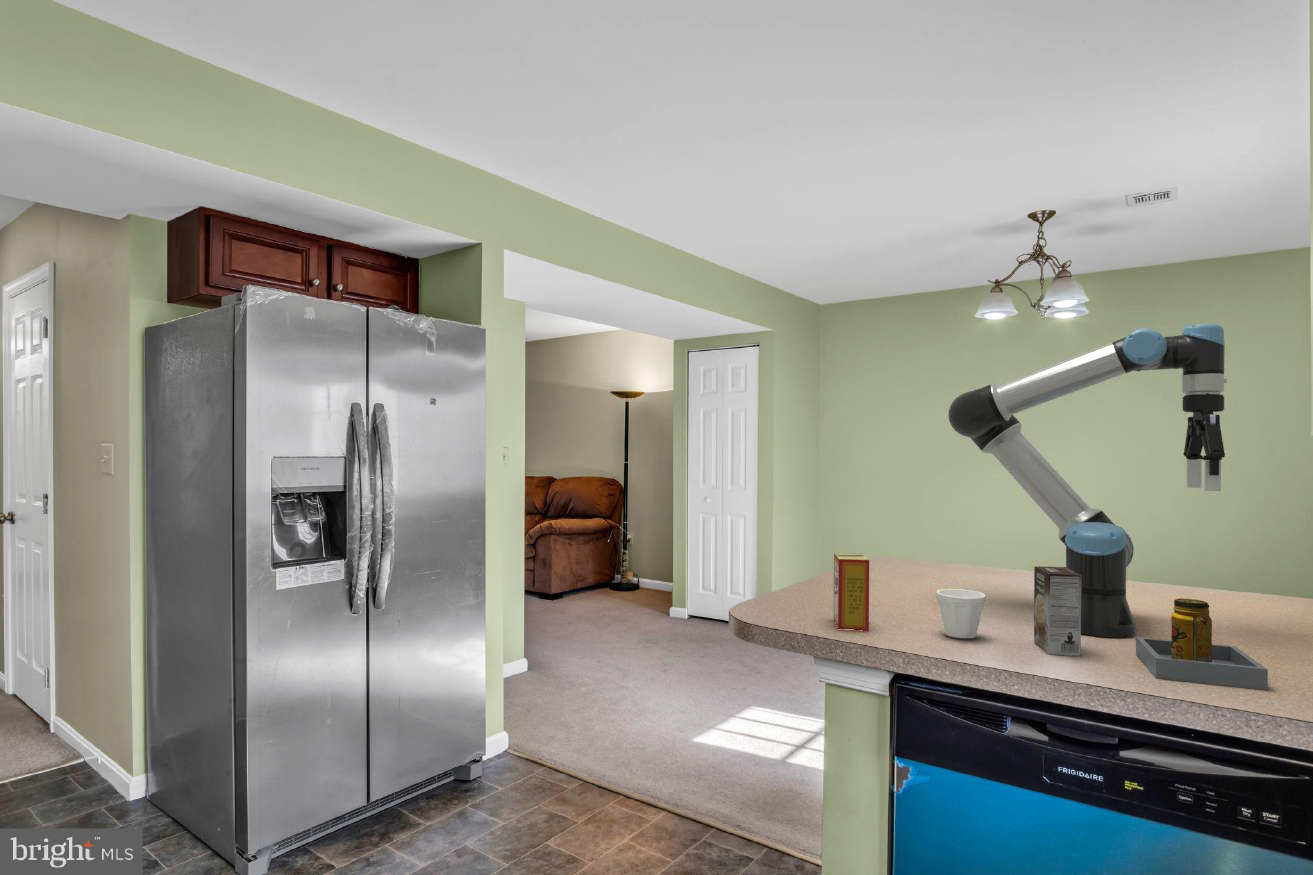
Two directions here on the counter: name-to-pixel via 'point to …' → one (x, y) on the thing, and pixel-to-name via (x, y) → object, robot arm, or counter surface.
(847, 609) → the baking soda box
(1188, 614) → the condiment
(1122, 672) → the counter surface
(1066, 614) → the coffee box
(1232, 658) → the tray
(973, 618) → the cup
